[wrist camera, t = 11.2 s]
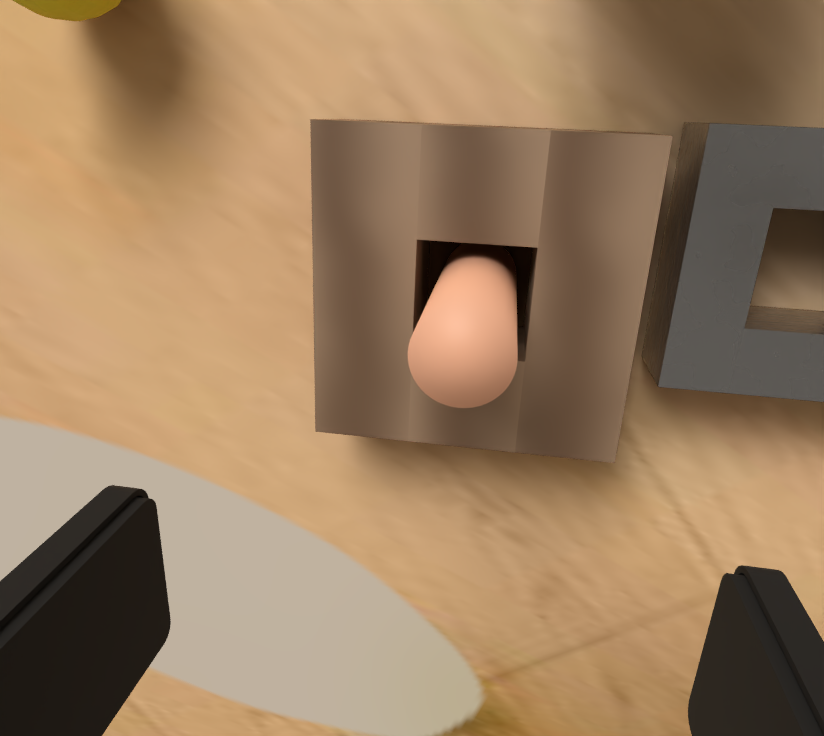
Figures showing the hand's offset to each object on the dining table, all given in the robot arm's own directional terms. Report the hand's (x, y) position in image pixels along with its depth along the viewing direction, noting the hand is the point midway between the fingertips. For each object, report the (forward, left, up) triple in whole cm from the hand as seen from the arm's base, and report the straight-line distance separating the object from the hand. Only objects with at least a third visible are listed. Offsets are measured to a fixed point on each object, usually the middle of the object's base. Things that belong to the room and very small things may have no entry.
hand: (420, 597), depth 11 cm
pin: (0, 0, -23) cm, 23 cm away
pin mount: (-14, -2, -23) cm, 27 cm away
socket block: (0, 0, -23) cm, 23 cm away
